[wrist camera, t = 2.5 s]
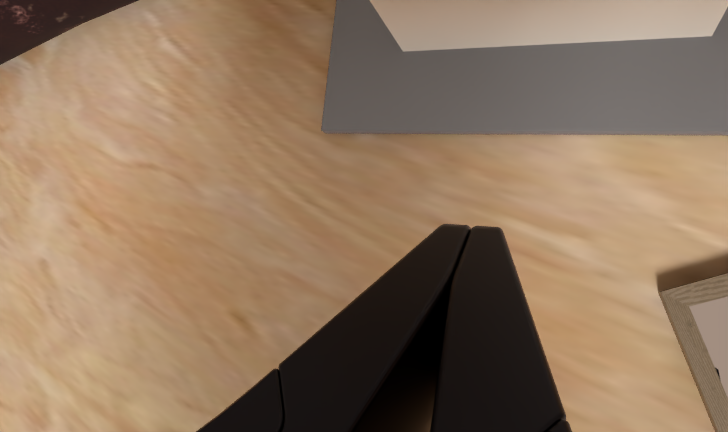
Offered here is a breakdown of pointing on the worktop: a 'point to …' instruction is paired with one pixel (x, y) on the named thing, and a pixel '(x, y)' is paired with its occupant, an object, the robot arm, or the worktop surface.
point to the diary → (44, 21)
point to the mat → (523, 84)
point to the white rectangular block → (543, 21)
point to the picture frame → (704, 339)
